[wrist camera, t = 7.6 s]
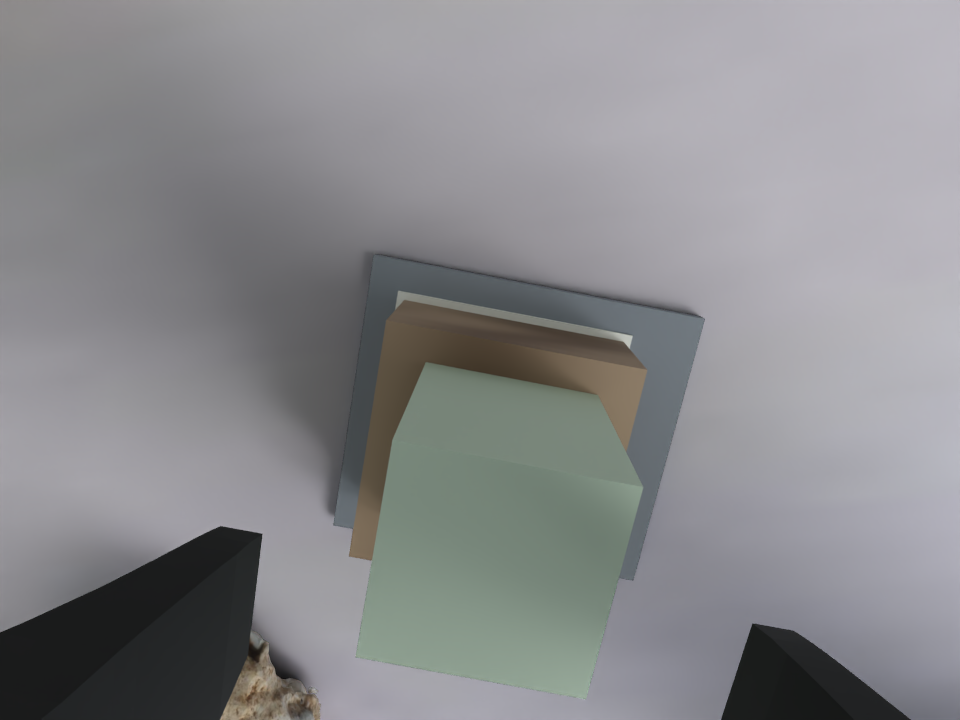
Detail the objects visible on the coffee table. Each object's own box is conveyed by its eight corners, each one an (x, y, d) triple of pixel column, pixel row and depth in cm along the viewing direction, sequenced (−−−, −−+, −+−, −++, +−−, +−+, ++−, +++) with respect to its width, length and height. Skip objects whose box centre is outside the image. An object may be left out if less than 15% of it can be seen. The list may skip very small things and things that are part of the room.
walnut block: (623, 341, 18) (647, 370, 15) (574, 539, 20) (587, 600, 17) (404, 299, 18) (385, 320, 15) (371, 501, 20) (348, 556, 17)
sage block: (598, 394, 15) (643, 486, 11) (560, 549, 16) (586, 698, 12) (425, 361, 15) (392, 439, 11) (397, 519, 16) (355, 657, 11)
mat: (700, 316, 18) (706, 319, 18) (630, 573, 20) (633, 582, 20) (376, 254, 18) (373, 255, 18) (336, 518, 20) (332, 527, 20)
